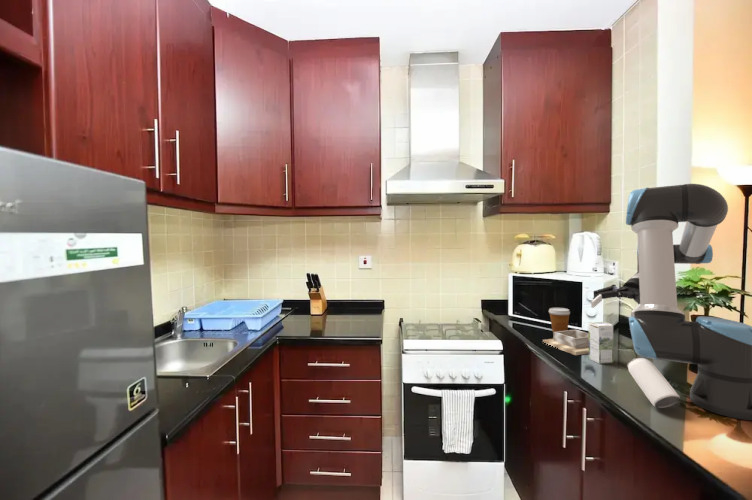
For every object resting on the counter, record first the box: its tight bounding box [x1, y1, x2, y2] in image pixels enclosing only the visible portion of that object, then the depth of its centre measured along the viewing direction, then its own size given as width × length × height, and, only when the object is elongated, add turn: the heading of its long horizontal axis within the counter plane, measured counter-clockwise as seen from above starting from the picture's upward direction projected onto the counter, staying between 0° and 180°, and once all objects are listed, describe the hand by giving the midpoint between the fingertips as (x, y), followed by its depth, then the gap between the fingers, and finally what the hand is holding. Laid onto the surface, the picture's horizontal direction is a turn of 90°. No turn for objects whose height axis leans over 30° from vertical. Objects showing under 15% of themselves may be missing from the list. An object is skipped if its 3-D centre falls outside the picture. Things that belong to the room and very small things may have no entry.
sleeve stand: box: [542, 328, 589, 356], centre depth 145 cm, size 18×18×6 cm
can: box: [626, 356, 680, 409], centre depth 94 cm, size 6×6×12 cm
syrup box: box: [587, 321, 614, 365], centre depth 127 cm, size 6×6×14 cm
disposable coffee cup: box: [548, 307, 571, 333], centre depth 167 cm, size 10×10×12 cm
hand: (611, 309), depth 127 cm, fingers open, 13 cm apart
